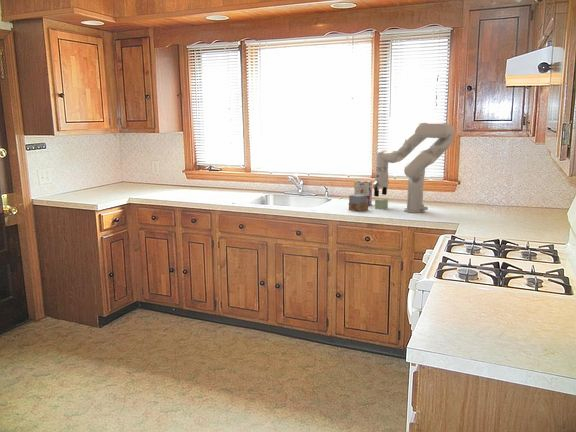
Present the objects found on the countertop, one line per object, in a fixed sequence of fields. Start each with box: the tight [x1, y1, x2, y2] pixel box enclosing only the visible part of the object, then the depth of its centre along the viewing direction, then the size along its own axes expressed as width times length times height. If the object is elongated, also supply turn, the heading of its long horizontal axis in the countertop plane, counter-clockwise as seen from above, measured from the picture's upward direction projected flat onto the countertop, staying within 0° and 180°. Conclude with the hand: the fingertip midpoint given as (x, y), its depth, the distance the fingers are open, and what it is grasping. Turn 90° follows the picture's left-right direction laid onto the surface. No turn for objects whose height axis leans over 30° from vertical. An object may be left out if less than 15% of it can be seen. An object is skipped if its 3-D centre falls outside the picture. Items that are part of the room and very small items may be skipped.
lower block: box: [348, 202, 369, 213], centre depth 328 cm, size 9×9×5 cm
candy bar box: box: [354, 180, 373, 207], centre depth 347 cm, size 11×5×16 cm, turn 62°
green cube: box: [374, 198, 389, 210], centre depth 334 cm, size 6×6×6 cm
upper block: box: [348, 193, 367, 204], centre depth 328 cm, size 8×8×5 cm
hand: (380, 195), depth 334 cm, fingers open, 9 cm apart
